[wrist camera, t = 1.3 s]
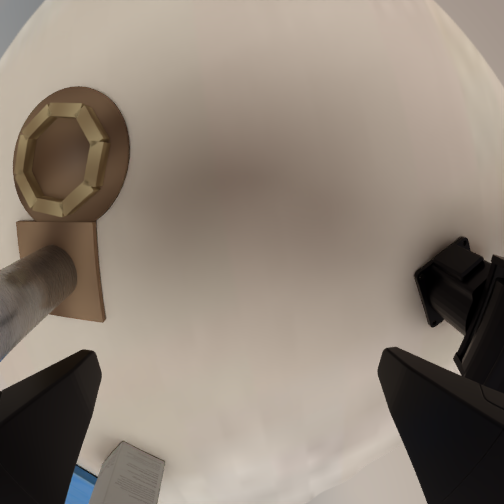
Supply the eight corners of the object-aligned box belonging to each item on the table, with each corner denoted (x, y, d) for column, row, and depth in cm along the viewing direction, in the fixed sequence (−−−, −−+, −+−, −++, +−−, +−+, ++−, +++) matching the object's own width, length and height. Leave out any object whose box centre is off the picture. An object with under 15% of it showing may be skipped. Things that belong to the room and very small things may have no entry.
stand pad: (95, 221, 19) (92, 222, 19) (105, 319, 21) (103, 322, 21) (20, 220, 19) (16, 222, 18) (33, 307, 21) (30, 310, 20)
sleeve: (87, 281, 20) (-19, 384, 7) (56, 306, 20) (-37, 400, 8) (56, 234, 19) (-71, 302, 6) (28, 263, 19) (-81, 335, 7)
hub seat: (157, 172, 19) (151, 173, 17) (55, 256, 20) (44, 262, 18) (90, 60, 16) (80, 54, 14) (1, 151, 17) (-11, 151, 15)
